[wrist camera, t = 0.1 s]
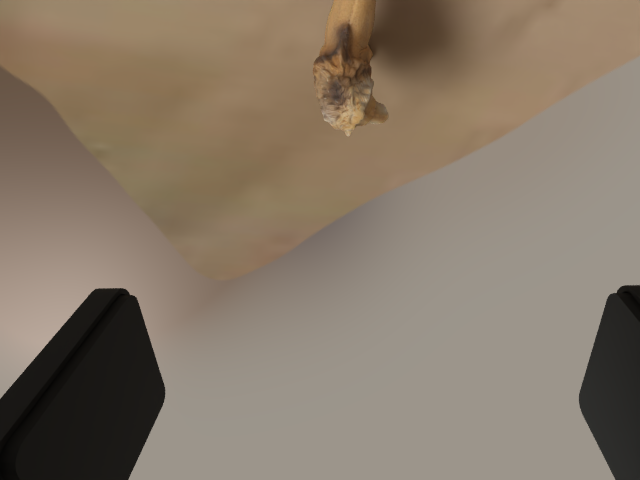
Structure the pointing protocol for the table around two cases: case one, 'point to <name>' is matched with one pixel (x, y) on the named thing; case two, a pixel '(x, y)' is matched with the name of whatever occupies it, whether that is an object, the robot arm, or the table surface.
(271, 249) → the table surface
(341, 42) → the lion figurine
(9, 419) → the robot arm
